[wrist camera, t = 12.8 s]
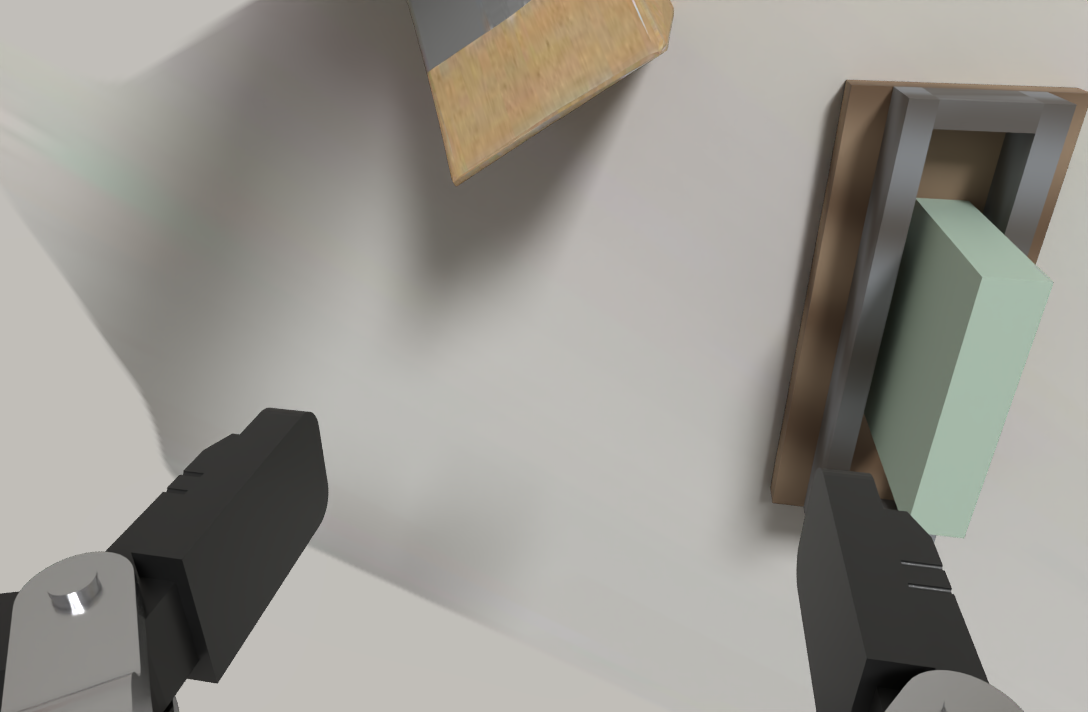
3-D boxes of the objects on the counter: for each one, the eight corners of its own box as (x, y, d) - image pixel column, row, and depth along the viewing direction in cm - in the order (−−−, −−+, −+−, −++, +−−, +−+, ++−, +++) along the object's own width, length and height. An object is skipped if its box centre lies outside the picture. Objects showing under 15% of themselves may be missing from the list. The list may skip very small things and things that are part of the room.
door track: (846, 79, 36) (864, 96, 32) (1077, 87, 35) (1125, 106, 31) (770, 487, 48) (777, 536, 44) (942, 506, 46) (964, 559, 42)
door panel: (915, 197, 37) (982, 277, 28) (973, 200, 36) (1059, 282, 28) (862, 410, 42) (905, 531, 34) (913, 415, 42) (968, 538, 33)
